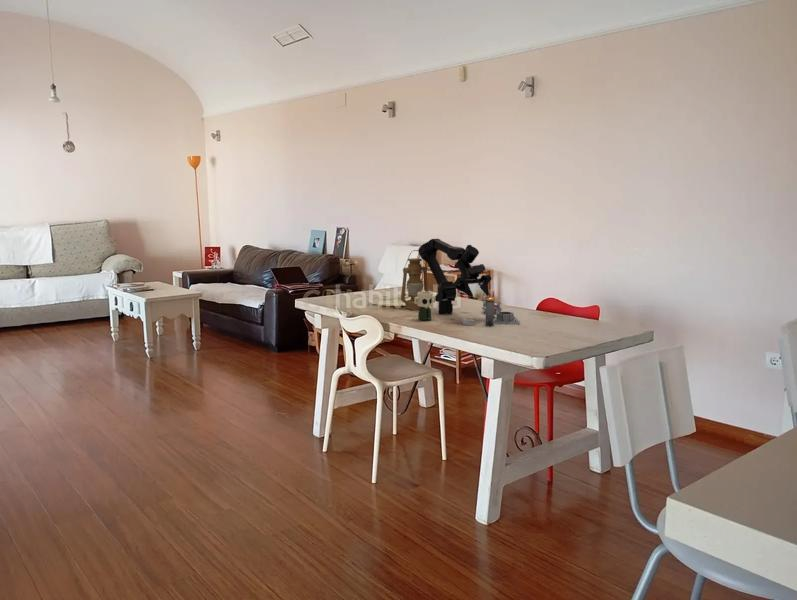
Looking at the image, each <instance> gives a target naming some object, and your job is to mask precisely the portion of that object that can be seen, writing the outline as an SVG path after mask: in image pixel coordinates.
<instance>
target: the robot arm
mask: <svg viewBox="0 0 797 600" xmlns="http://www.w3.org/2000/svg"><path fill="white" fill-rule="evenodd" d="M417 250H418V251H417V253H418V255H419V257H420V259H422V260H424V261H423V262H426V263H427V264H428V268H429V269H430V271H431V273H432V275H433V277H434V279H435V282H436V283H437V293H436V295H434V296H435V302H437V303H438V311H437V312H438V315H453V312H454V311H453V308H454V304H453V302H455V301H456V298H457V293H458V292H457V290H458V291H460V292H462V293H464V294H465V295H467V296H468V297H470V298H474V295H473V292H472V290H471V288H470V286H469V285H474V284H477V285H478V286H479V289H481V290H482V292H483V293H484V295H487V296H488V297H489V295H490V291H489V283H490V282H491V281H492V279H493V278H492V276H491V274H483V275H481V274H482V273H484V271H486V266H485V265H484V264H483V263H482V264H481V263H480V264H479V265H473V266H472V265H471V264H472V263H474V261H475V260H476V259H477V257H478V256H479V254H480V251H479V250H478V249H477V248H476V247H475V246H473V245H472V244H467V245H466V247H465V248H464V247H460V246H454V245H451V244H449V243H448V242H445V241H443V240H441V239H440V238H430V240H428V241H426V242H425V243H422V245H420V246H419V248H418V249H417ZM438 252H442V253H444V254H446V256H447V258H448V259H449V260H451V261H456V262H455V263H454V266H453V269H458V270H459V273H460V276H459V277H457V278H456V280H455V281H453V280H451V281H450V280H447V279H448V278H447V277H446V275H445V273H444V271H443V269H442V267H441V265H440V263H439V261H438V259H437V253H438ZM480 275H481V276H480Z"/></svg>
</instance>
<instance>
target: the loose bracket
mask: <svg viewBox="0 0 797 600" xmlns="http://www.w3.org/2000/svg"><path fill="white" fill-rule="evenodd" d="M461 324H463V325H474V326H475V320H474V319H467V317H466V316H462V317H461ZM463 325H462V326H463Z"/></svg>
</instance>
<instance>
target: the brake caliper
mask: <svg viewBox="0 0 797 600" xmlns="http://www.w3.org/2000/svg"><path fill="white" fill-rule="evenodd" d="M486 297H489V295H488V296H487V295H486V294H484V295H483V300H482V306H483V307H481V310H483V312H485V313H486V300H485V298H486ZM491 297H494V298H495V291H494V290H492V293H491ZM495 302H496V301H494V315H496V312H502V310H503V307H502V304H501V302H500V301H497V303H496V304H495Z"/></svg>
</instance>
